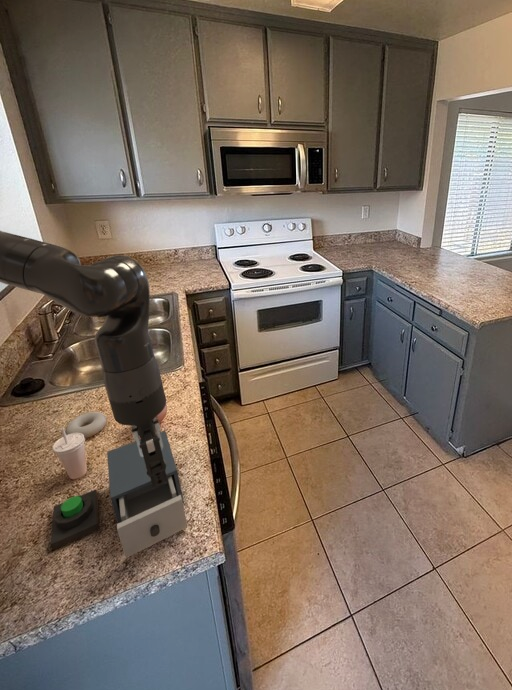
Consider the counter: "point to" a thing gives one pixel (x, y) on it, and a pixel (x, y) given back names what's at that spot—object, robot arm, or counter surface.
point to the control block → (75, 521)
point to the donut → (91, 418)
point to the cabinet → (135, 471)
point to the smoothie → (71, 453)
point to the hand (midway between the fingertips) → (155, 466)
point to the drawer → (149, 516)
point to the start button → (72, 506)
